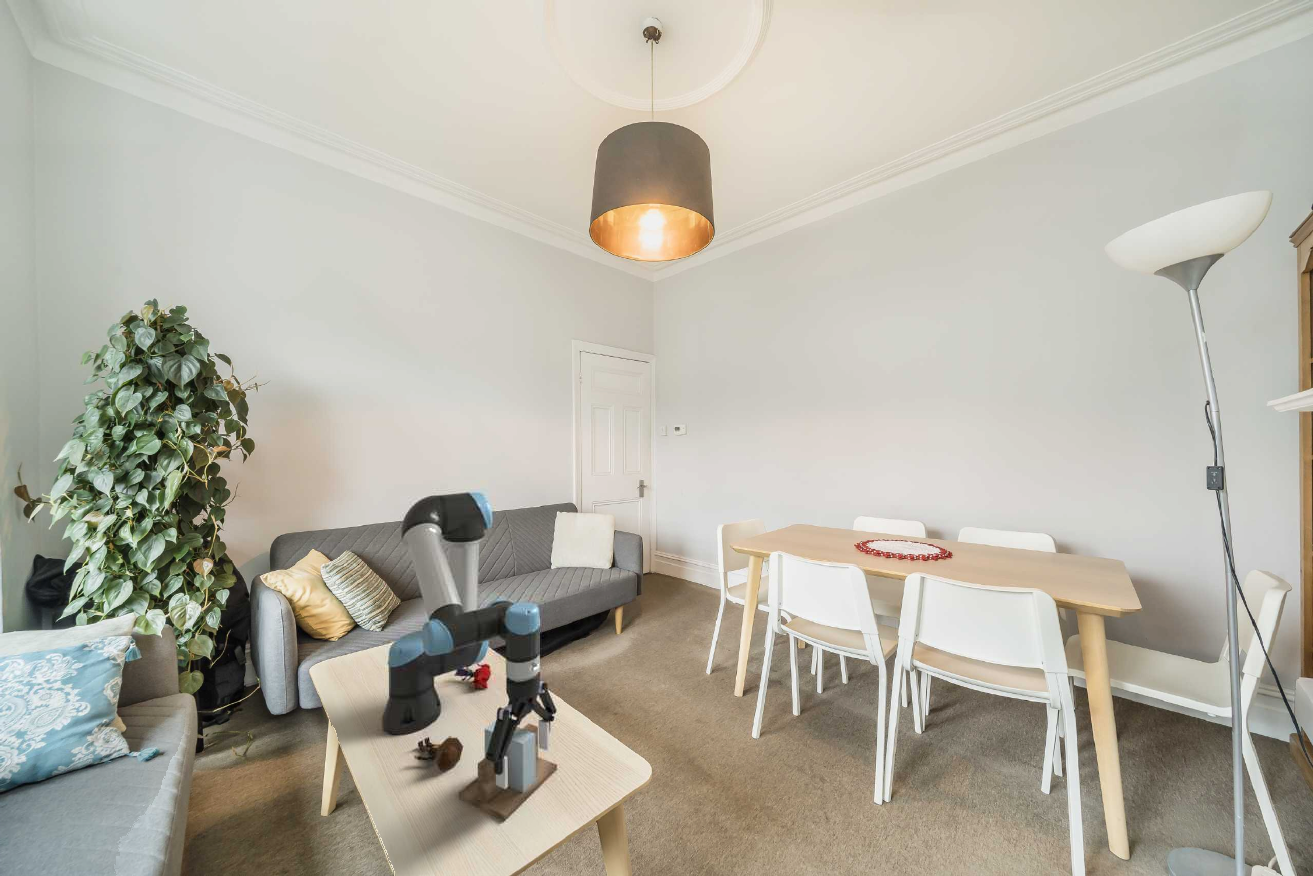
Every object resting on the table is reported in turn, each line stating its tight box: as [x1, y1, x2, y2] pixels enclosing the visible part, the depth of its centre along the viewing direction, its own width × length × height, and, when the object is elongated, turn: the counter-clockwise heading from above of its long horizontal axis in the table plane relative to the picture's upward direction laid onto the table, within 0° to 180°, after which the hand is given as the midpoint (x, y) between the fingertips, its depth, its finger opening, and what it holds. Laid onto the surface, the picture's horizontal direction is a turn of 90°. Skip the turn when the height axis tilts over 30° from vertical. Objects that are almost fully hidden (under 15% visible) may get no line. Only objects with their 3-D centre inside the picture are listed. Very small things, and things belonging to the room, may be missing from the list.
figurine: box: [454, 663, 492, 690], centre depth 153 cm, size 6×8×15 cm
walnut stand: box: [458, 723, 558, 822], centre depth 109 cm, size 14×17×9 cm
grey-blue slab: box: [484, 720, 536, 793], centre depth 109 cm, size 12×4×11 cm, turn 63°
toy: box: [413, 735, 464, 772], centre depth 117 cm, size 10×7×15 cm
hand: (524, 766), depth 107 cm, fingers open, 13 cm apart
